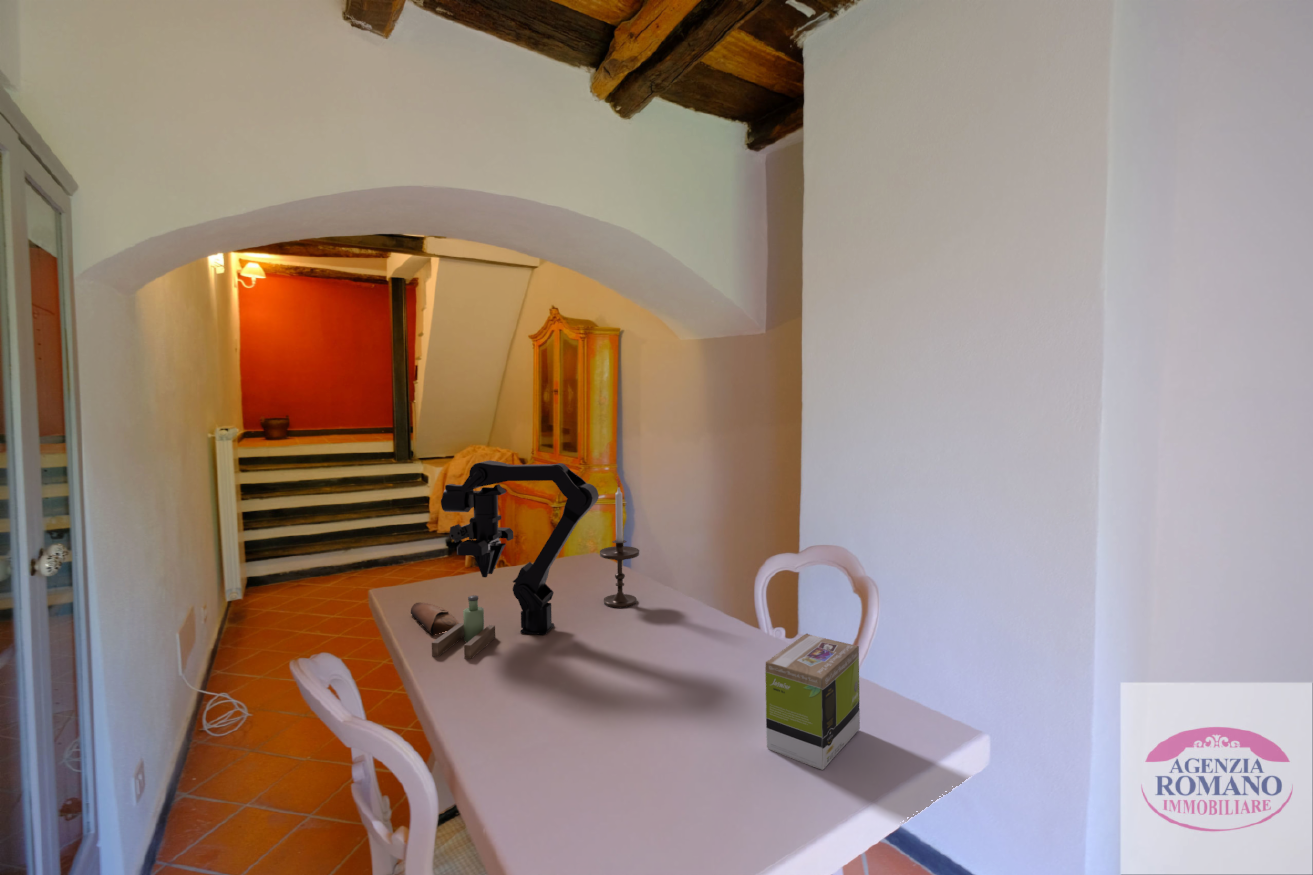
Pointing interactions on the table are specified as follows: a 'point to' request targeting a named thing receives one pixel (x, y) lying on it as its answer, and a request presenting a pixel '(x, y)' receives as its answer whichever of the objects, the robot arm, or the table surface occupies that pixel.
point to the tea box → (812, 699)
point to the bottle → (473, 619)
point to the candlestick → (619, 559)
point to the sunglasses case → (433, 617)
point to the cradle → (458, 633)
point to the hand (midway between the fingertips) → (487, 575)
